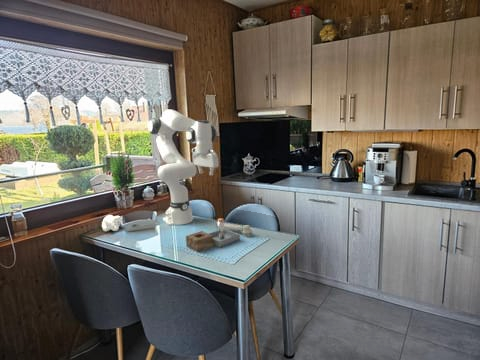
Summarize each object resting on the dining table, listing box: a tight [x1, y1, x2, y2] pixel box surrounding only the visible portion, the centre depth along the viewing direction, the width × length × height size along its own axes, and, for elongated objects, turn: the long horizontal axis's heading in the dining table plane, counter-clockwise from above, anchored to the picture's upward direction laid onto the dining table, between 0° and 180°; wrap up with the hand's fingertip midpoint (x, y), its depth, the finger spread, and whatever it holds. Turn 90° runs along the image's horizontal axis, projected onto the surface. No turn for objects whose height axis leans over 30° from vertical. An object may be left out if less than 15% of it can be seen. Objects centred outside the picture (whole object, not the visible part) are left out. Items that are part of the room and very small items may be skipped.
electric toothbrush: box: [216, 222, 253, 238], centre depth 182 cm, size 5×7×25 cm
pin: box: [217, 217, 225, 240], centre depth 170 cm, size 3×3×11 cm
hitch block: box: [185, 230, 214, 253], centre depth 163 cm, size 10×10×6 cm
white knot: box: [101, 214, 123, 232], centre depth 195 cm, size 11×12×9 cm
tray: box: [208, 229, 241, 249], centre depth 170 cm, size 14×14×4 cm
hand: (206, 174), depth 176 cm, fingers open, 8 cm apart
